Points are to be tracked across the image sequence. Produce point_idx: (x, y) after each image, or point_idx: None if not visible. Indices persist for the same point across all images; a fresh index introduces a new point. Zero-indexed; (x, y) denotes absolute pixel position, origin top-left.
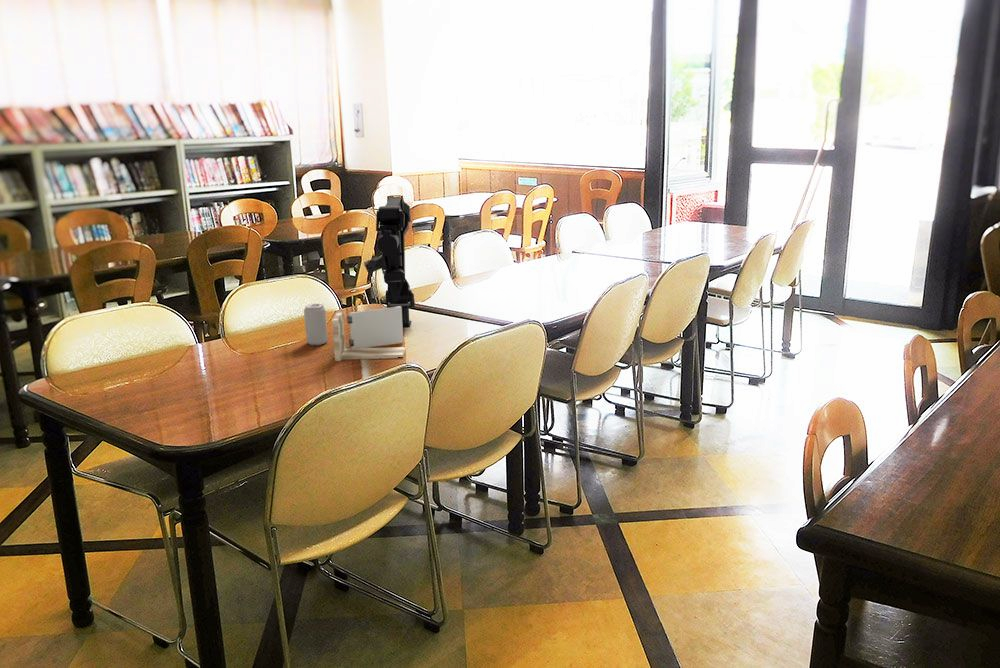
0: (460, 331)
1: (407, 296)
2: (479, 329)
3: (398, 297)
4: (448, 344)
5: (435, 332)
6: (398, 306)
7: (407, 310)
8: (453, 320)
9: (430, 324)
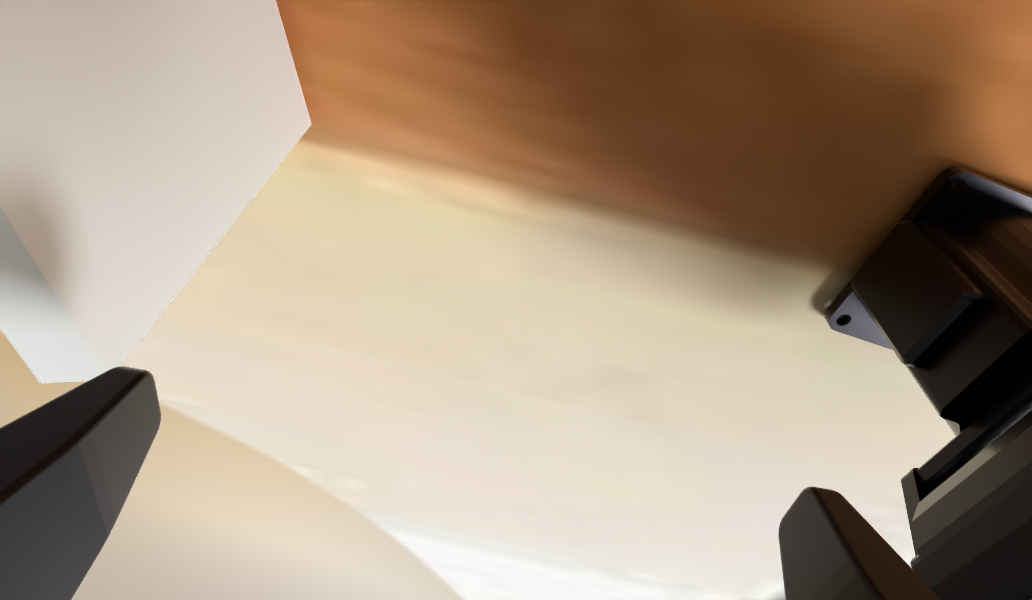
0: (493, 525)
1: (928, 584)
2: (491, 594)
3: (1025, 498)
4: (186, 400)
5: (543, 418)
6: (87, 351)
7: (948, 423)
8: (780, 562)
9: (787, 448)
